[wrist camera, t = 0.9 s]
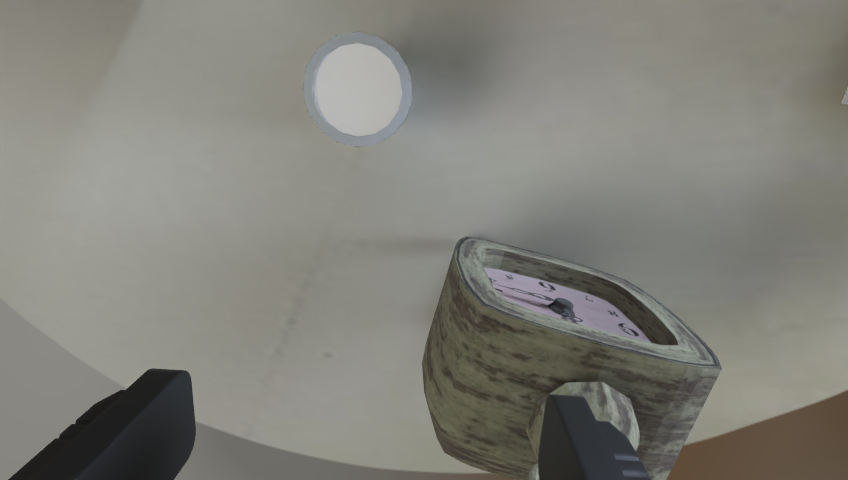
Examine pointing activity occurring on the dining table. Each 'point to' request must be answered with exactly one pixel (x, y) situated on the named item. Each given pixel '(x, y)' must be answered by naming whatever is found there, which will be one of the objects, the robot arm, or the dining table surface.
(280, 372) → the dining table surface
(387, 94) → the shot glass
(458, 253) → the tabletop clock
